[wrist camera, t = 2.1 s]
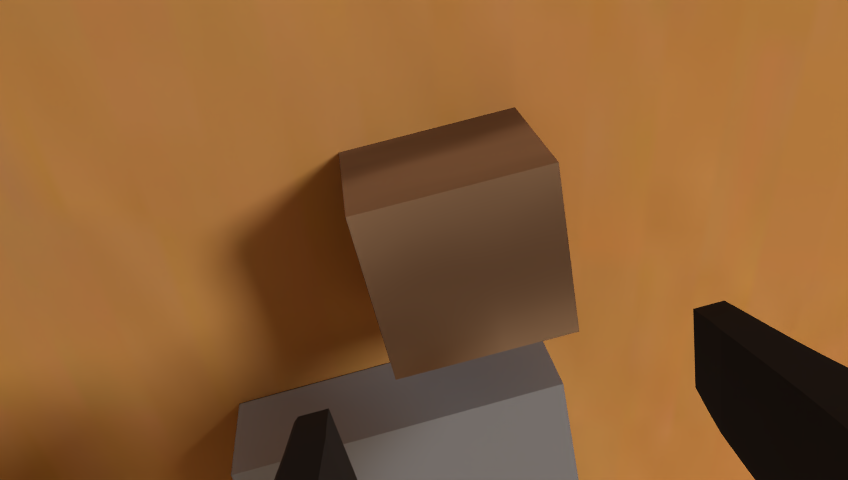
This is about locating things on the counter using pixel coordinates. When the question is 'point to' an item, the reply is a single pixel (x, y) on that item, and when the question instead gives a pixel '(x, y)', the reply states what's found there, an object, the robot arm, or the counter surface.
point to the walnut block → (461, 240)
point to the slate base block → (427, 422)
